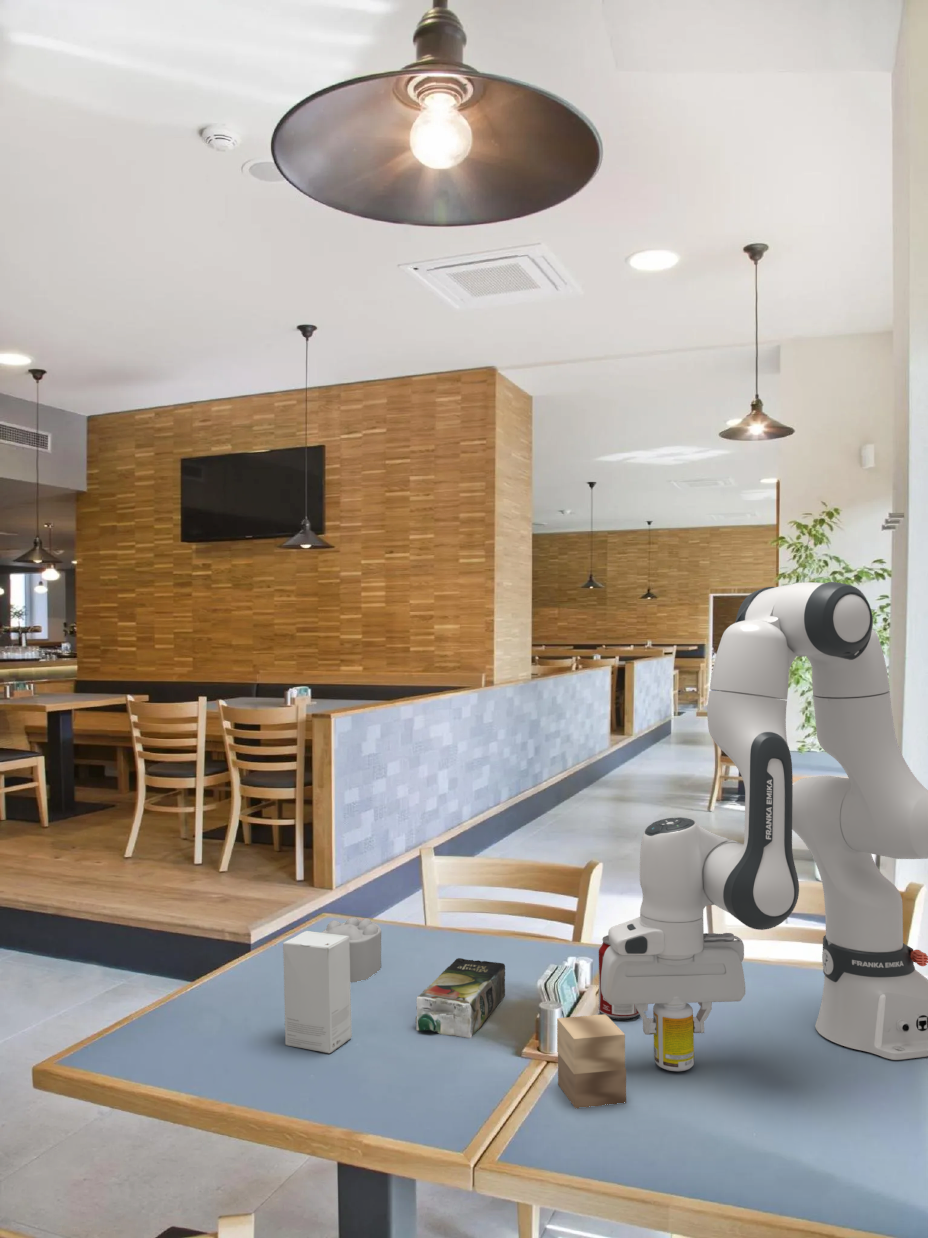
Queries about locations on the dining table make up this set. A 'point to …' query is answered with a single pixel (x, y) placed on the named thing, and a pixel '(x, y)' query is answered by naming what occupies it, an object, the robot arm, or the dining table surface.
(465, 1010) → the juice carton
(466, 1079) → the dining table surface
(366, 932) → the lumpy-topped squat cylinder
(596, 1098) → the tower base block
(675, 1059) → the supplement bottle
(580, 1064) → the tower top block
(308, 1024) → the skincare box
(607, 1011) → the soda can
